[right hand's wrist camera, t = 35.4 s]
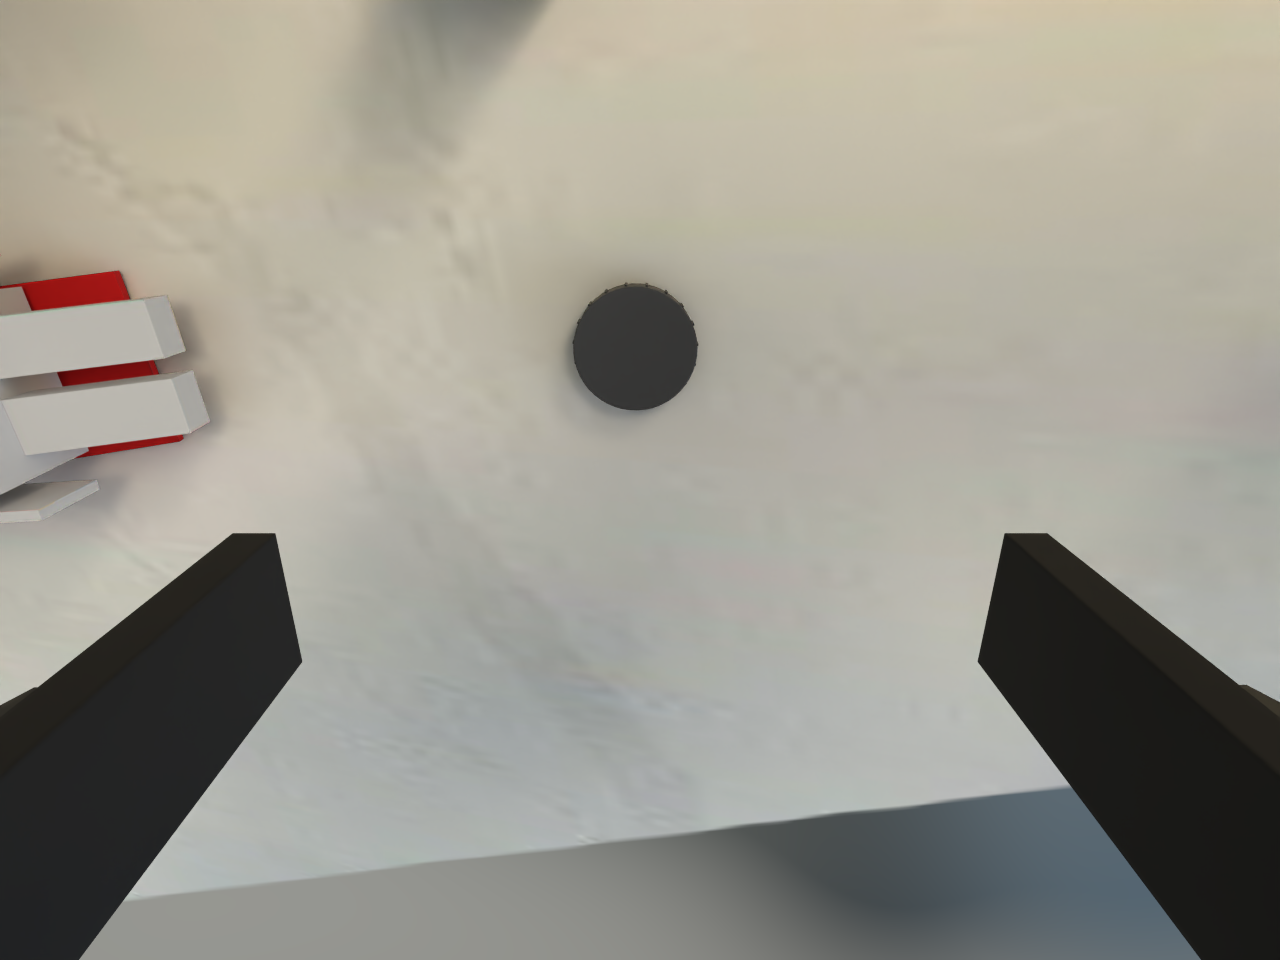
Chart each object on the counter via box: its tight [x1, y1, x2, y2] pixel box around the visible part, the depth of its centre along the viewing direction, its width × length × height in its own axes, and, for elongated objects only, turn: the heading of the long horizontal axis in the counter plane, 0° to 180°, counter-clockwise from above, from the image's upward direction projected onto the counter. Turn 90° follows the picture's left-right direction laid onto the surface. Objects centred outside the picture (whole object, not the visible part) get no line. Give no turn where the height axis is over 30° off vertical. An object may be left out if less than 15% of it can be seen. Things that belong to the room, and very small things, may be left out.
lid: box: [573, 283, 698, 410], centre depth 36 cm, size 6×6×2 cm
